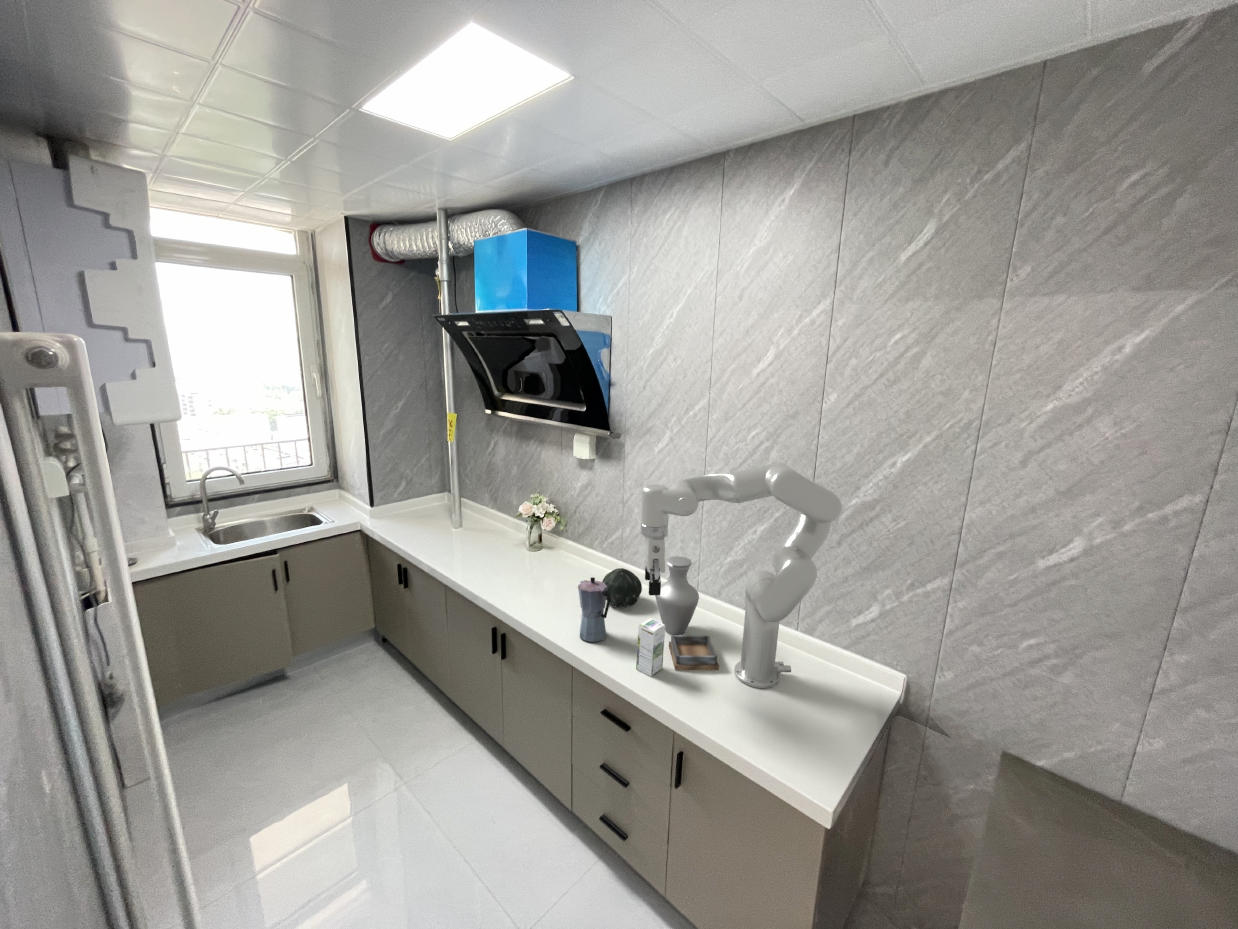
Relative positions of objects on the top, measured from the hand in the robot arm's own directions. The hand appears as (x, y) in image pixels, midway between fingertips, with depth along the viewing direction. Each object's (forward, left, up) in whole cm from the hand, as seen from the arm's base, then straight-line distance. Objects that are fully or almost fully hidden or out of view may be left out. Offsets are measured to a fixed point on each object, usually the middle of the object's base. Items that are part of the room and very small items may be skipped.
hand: (652, 587), depth 145 cm
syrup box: (0, 0, -26) cm, 26 cm away
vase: (-11, -22, -26) cm, 36 cm away
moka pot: (+16, -18, -26) cm, 36 cm away
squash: (+6, -42, -26) cm, 50 cm away
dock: (-14, -6, -26) cm, 30 cm away
